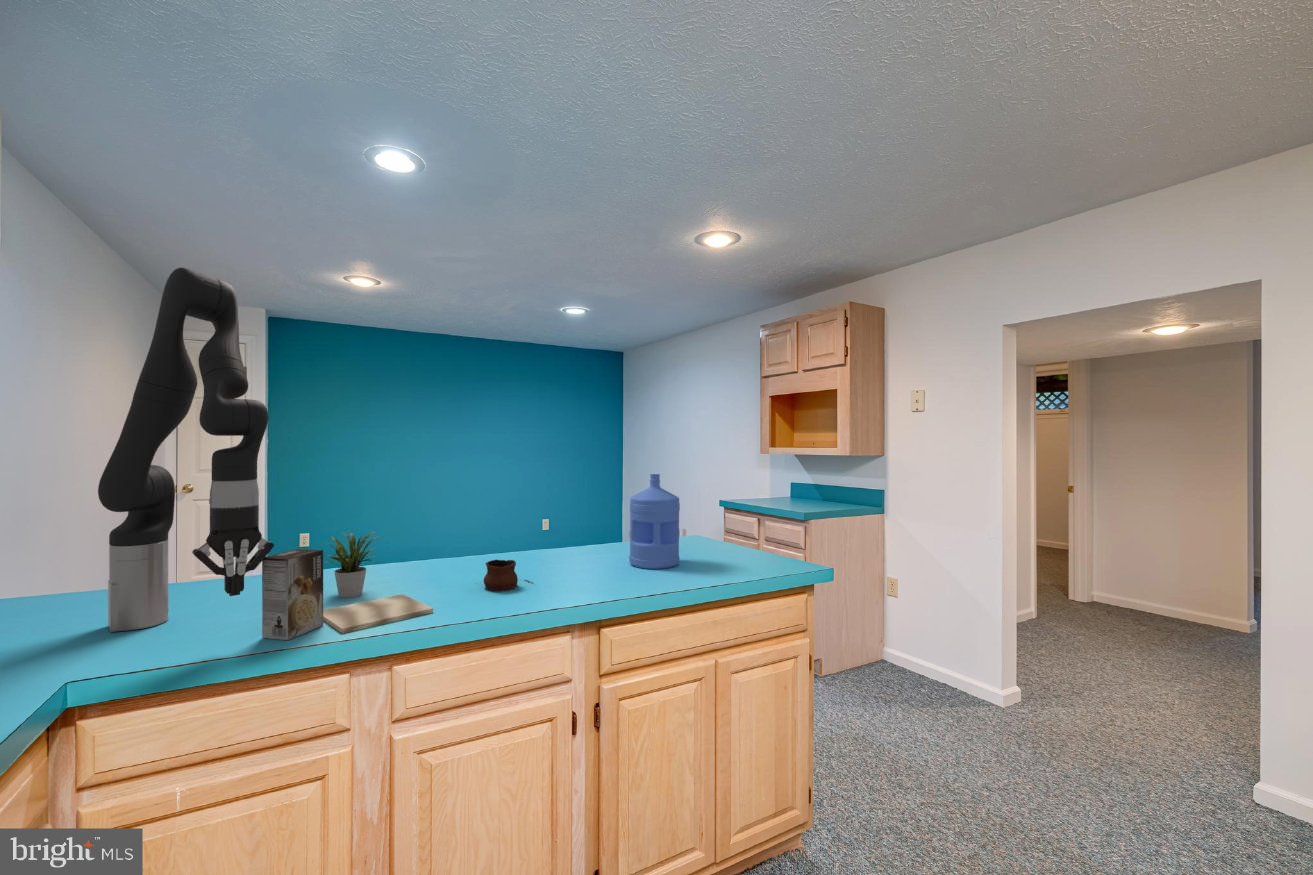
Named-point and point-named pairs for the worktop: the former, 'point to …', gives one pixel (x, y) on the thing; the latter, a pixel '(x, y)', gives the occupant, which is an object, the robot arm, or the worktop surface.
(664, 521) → the water jug
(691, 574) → the worktop surface
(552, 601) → the worktop surface
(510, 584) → the ceramic pot
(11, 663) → the worktop surface
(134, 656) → the worktop surface
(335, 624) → the cutting board
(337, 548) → the house plant
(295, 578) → the coffee box
